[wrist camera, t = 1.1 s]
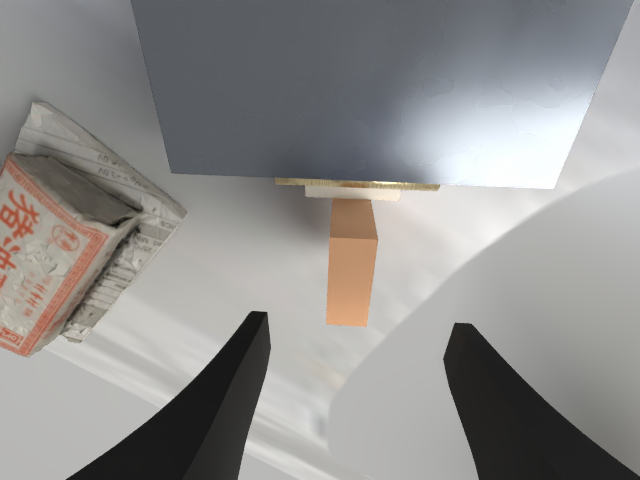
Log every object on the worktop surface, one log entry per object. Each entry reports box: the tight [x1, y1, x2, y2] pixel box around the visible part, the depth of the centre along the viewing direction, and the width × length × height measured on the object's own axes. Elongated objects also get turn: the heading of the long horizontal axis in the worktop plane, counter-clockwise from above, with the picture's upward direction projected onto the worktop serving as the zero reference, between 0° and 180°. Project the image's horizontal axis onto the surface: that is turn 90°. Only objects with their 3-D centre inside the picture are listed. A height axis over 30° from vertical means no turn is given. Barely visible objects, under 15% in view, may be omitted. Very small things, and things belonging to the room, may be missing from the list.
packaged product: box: [0, 102, 187, 357], centre depth 21 cm, size 18×5×10 cm
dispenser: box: [131, 0, 634, 191], centre depth 13 cm, size 16×8×6 cm, turn 89°
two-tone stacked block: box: [305, 186, 401, 327], centre depth 14 cm, size 5×13×5 cm, turn 179°
